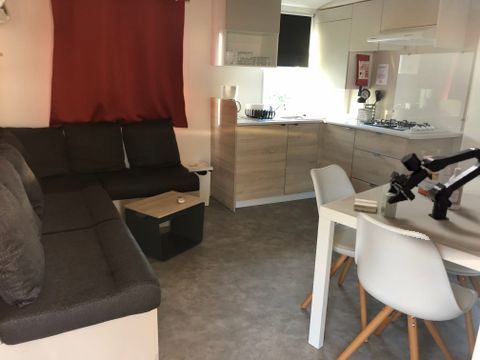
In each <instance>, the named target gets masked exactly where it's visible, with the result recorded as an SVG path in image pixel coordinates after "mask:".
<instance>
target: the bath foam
mask: <svg viewBox="0 0 480 360" xmlns="http://www.w3.org/2000/svg"><path fill="white" fill-rule="evenodd" d="M462 171H463V168H460V167H455V168H454V174H453V175H452V177H450V178H449V181H451V180H452V179H454V178H455V177H457V176H458V175H460V174H462V173H463V172H462ZM464 186H465V185H463V186H462V187H460V188H459V189H457V190H455V191H454V192H453V194H452V195H451V197H450V198H449V200H450V201H451V202H452V205H451V207H450V208H448V209H447V210H454V211H457V210H459V209H460V207H461V202H462V195H463V191H464Z"/></svg>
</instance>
